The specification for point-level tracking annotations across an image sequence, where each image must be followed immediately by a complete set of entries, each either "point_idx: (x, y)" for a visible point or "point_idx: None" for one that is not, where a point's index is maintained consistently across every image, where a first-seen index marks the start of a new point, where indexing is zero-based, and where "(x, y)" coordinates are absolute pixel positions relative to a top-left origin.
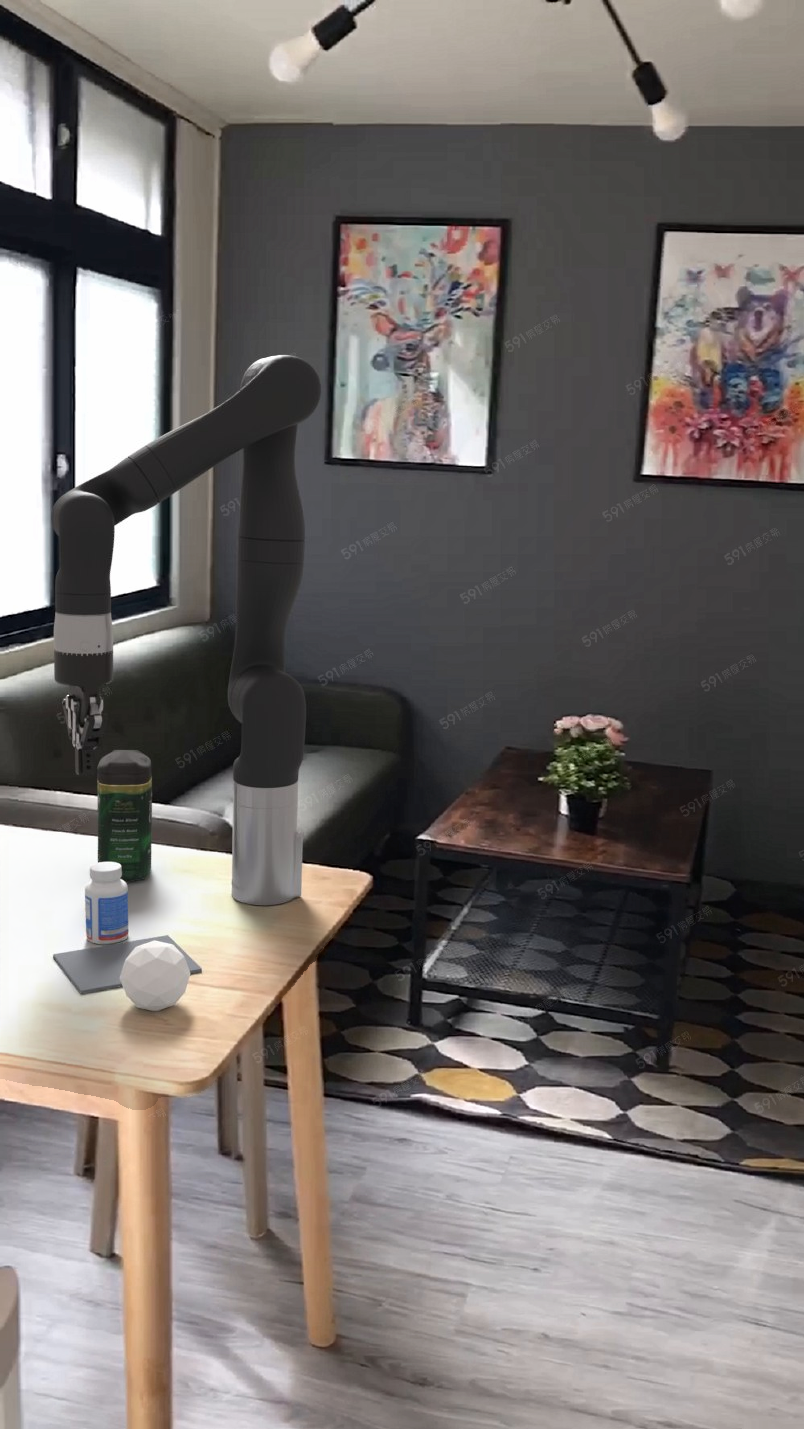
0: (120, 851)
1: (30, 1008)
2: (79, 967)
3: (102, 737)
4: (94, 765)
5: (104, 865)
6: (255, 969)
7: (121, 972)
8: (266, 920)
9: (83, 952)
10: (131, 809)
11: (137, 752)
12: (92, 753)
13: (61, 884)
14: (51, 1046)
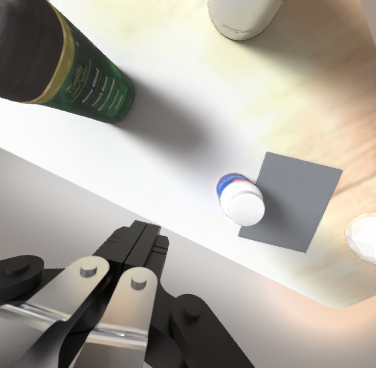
0: (114, 104)
1: (297, 281)
2: (271, 235)
3: (247, 361)
4: (156, 236)
5: (243, 209)
6: (372, 132)
7: (364, 259)
8: (298, 49)
9: None
10: (85, 72)
11: None
12: (160, 274)
13: (101, 155)
14: (349, 295)
